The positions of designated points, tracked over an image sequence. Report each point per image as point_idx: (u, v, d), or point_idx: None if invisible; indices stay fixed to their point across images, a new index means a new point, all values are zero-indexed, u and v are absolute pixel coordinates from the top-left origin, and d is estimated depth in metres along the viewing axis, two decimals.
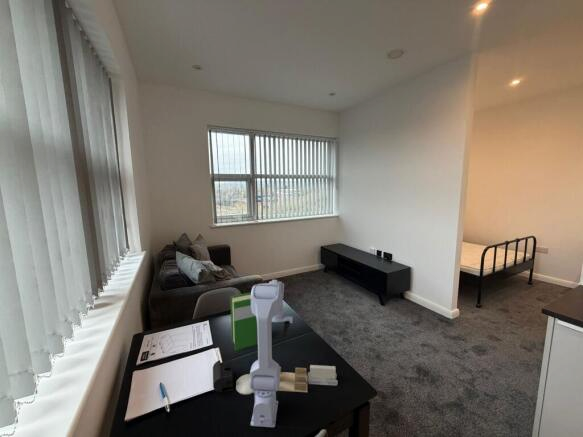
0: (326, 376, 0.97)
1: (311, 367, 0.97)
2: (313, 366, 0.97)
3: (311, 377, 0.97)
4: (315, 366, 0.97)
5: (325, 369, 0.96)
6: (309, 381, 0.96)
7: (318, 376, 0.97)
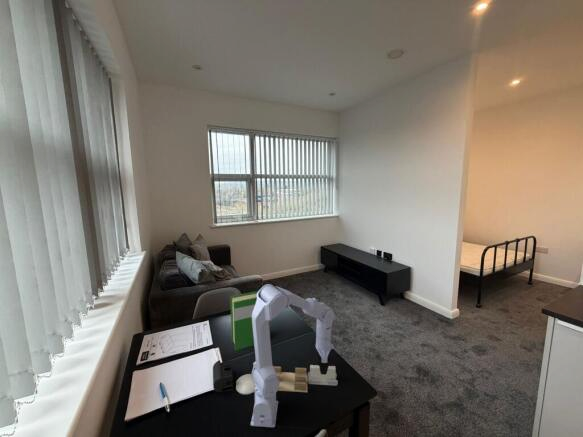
0: (326, 376, 0.97)
1: (311, 367, 0.97)
2: (313, 366, 0.97)
3: (311, 377, 0.97)
4: (315, 366, 0.97)
5: None
6: (309, 381, 0.96)
7: (318, 376, 0.97)
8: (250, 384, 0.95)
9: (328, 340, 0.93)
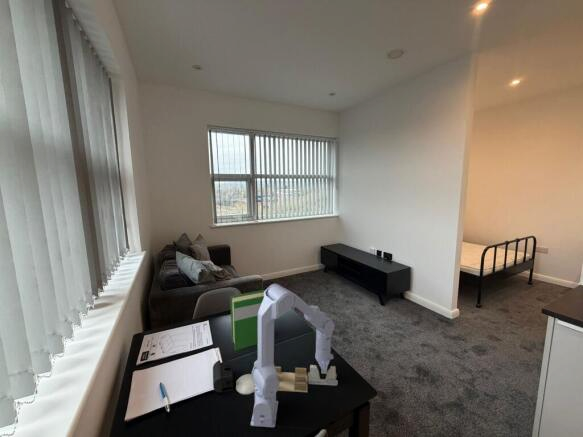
0: (326, 376, 0.97)
1: (311, 367, 0.97)
2: (313, 366, 0.97)
3: (311, 377, 0.97)
4: (315, 366, 0.97)
5: None
6: (309, 381, 0.96)
7: (318, 376, 0.97)
8: (250, 384, 0.95)
9: (328, 350, 0.94)
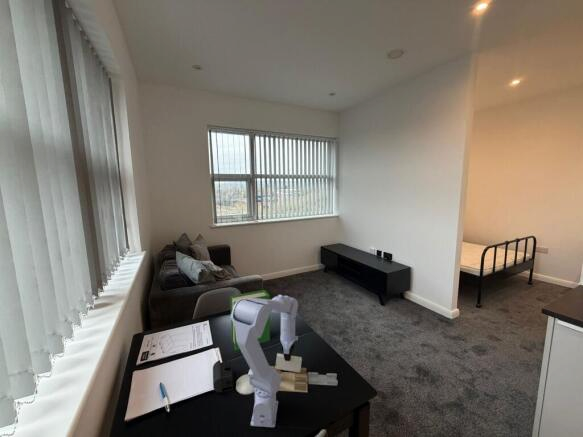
0: (291, 366, 0.97)
1: (278, 355, 0.97)
2: (280, 355, 0.98)
3: (277, 365, 0.97)
4: (282, 355, 0.98)
5: (291, 359, 0.97)
6: (309, 381, 0.96)
7: (284, 365, 0.97)
8: (250, 384, 0.95)
9: (292, 332, 0.94)
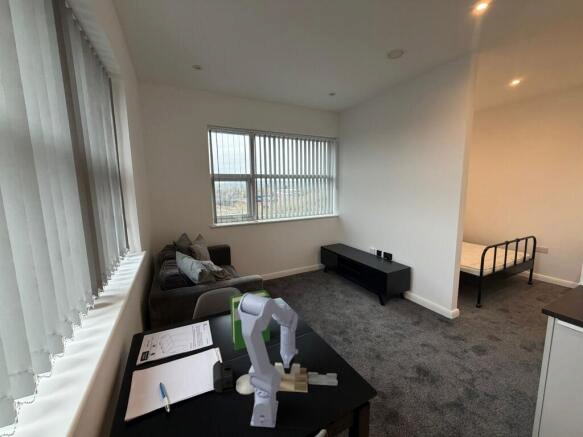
0: (290, 374, 0.97)
1: (276, 365, 0.98)
2: (278, 364, 0.98)
3: None
4: (280, 364, 0.98)
5: None
6: (309, 381, 0.96)
7: (283, 373, 0.98)
8: None
9: (291, 345, 0.94)
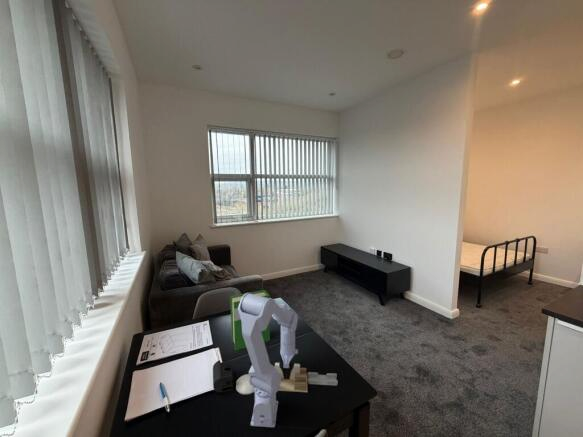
0: None
1: (276, 365, 0.98)
2: (278, 364, 0.98)
3: None
4: None
5: None
6: (309, 381, 0.96)
7: None
8: None
9: (291, 345, 0.94)
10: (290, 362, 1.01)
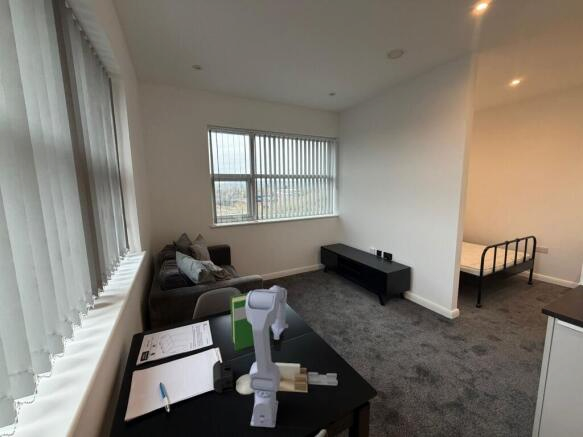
0: (290, 374, 0.98)
1: None
2: (278, 364, 0.98)
3: None
4: (280, 364, 0.98)
5: (289, 367, 0.97)
6: (309, 381, 0.96)
7: (283, 373, 0.98)
8: None
9: (282, 319, 1.01)
10: None
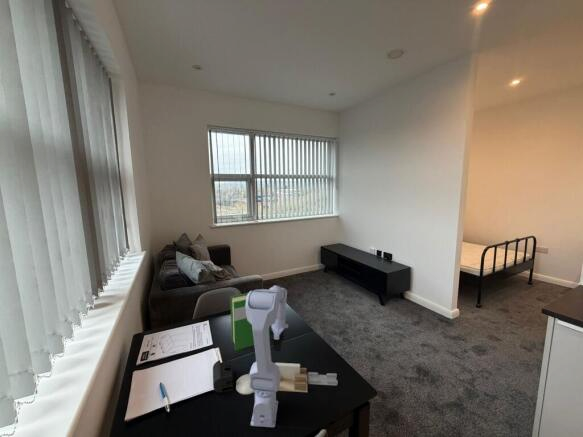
0: (290, 374, 0.98)
1: None
2: (278, 364, 0.98)
3: None
4: (280, 364, 0.98)
5: (289, 367, 0.97)
6: (309, 381, 0.96)
7: (283, 373, 0.98)
8: None
9: (282, 319, 1.01)
10: None
